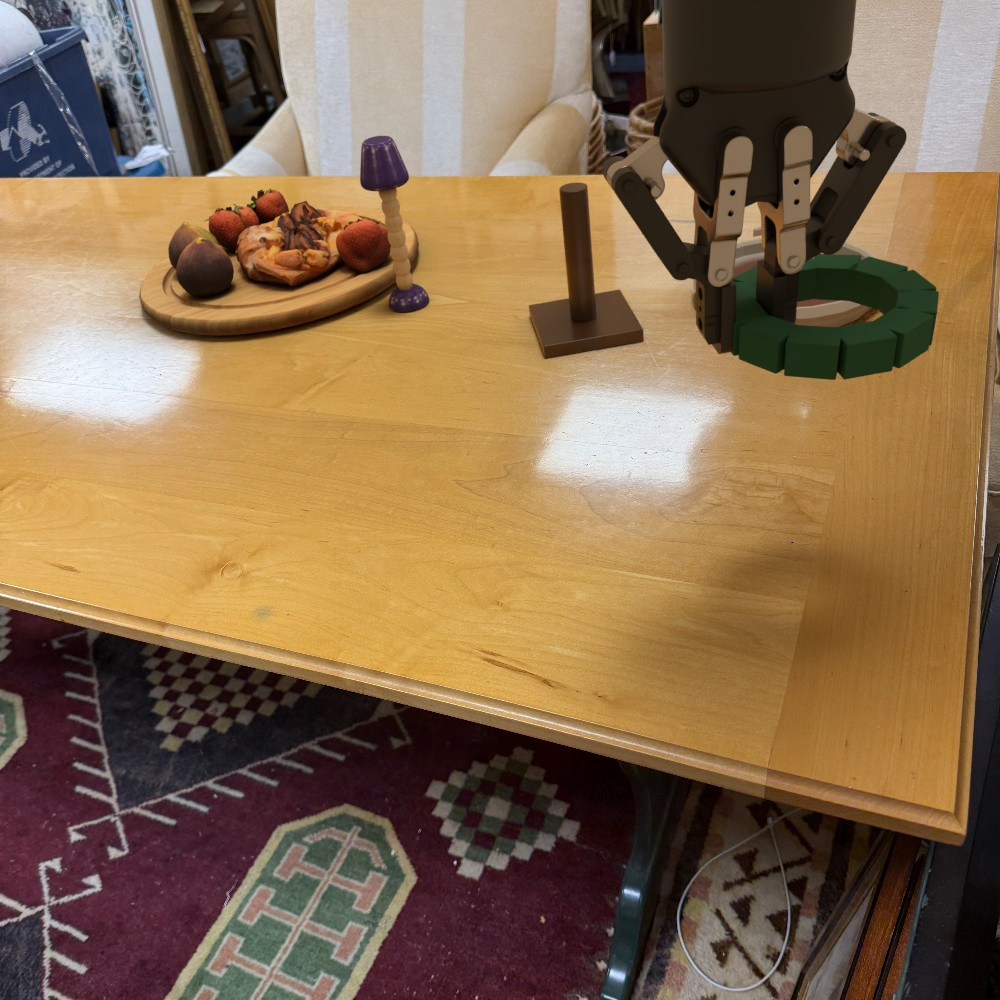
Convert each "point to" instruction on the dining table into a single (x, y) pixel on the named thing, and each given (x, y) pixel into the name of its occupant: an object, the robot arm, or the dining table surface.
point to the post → (582, 293)
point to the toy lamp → (392, 215)
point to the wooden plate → (270, 267)
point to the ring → (846, 347)
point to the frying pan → (809, 310)
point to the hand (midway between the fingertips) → (745, 340)
